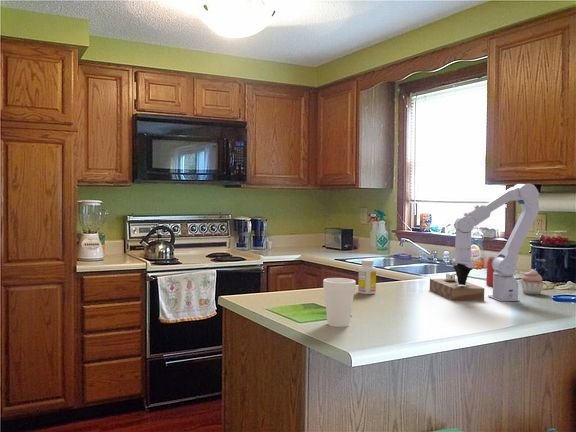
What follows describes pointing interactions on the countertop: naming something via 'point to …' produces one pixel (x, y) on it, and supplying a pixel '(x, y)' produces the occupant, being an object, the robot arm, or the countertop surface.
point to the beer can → (490, 272)
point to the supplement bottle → (367, 277)
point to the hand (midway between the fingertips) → (461, 284)
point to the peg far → (450, 277)
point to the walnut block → (457, 290)
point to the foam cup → (339, 300)
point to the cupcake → (532, 283)
